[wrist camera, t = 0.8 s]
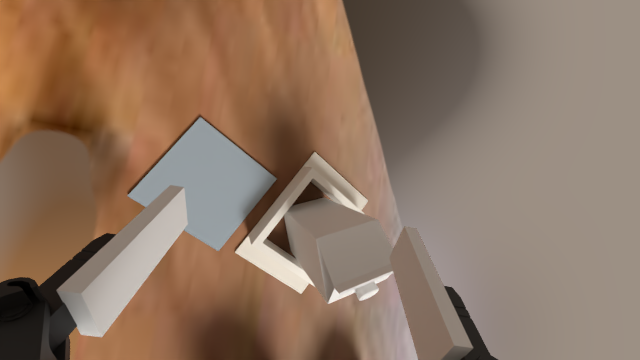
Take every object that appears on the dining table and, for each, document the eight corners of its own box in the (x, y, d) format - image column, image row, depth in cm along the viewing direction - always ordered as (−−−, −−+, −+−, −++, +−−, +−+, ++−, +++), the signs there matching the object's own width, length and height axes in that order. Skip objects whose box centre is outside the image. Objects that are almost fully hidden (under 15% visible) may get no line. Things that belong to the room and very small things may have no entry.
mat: (200, 117, 32) (200, 117, 31) (276, 178, 36) (277, 178, 36) (128, 195, 30) (127, 195, 29) (218, 250, 34) (218, 251, 34)
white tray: (314, 151, 38) (325, 151, 34) (367, 200, 42) (382, 205, 38) (234, 251, 35) (236, 264, 31) (300, 292, 39) (309, 309, 35)
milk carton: (281, 207, 37) (333, 254, 19) (324, 197, 39) (403, 229, 22) (290, 250, 38) (346, 331, 20) (330, 237, 40) (412, 300, 23)
